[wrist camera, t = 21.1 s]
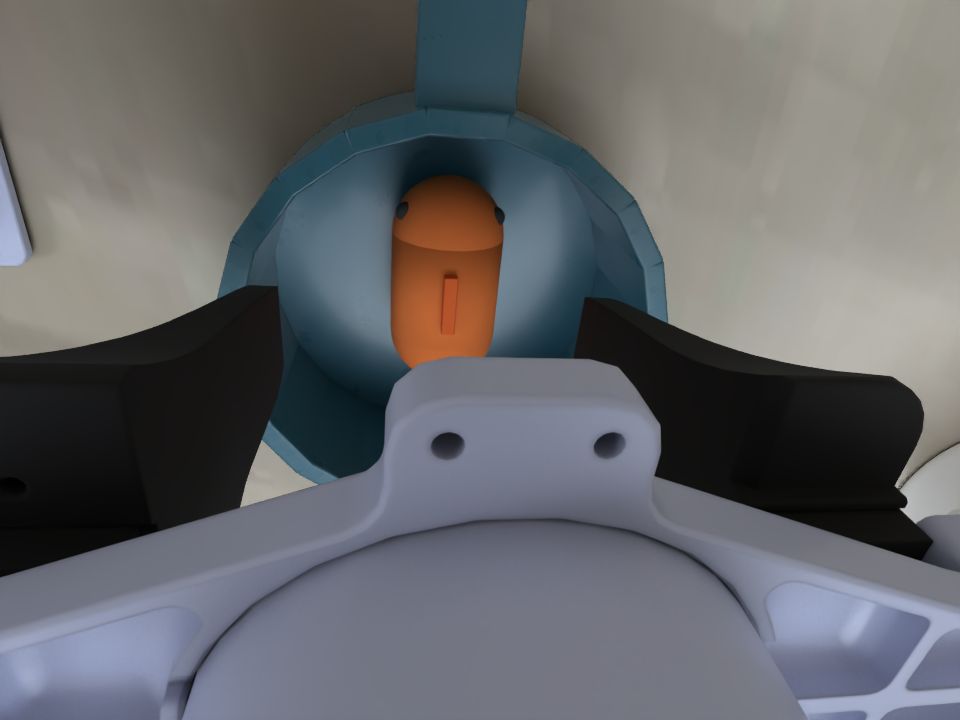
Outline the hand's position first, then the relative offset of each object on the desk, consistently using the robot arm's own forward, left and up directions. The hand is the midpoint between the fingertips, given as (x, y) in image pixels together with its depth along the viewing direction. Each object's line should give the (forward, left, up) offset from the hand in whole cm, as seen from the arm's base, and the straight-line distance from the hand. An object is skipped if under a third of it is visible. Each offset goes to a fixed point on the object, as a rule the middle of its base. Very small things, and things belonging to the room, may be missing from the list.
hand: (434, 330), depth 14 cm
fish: (+1, -1, -7) cm, 7 cm away
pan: (+1, -1, -7) cm, 7 cm away
